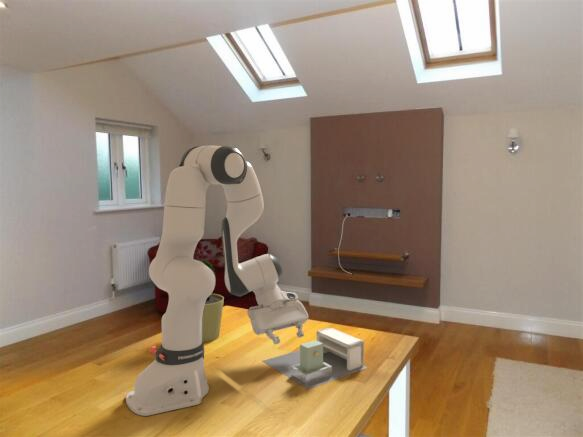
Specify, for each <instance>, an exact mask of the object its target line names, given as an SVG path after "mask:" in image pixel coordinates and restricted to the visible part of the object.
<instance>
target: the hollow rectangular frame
mask: <svg viewBox="0 0 583 437" xmlns="http://www.w3.org/2000/svg"><path fill="white" fill-rule="evenodd" d="M330 376H332V366H331V365H329V364H327V363H325V362H323V368H321V369H318V370H315V371H312V372H309V373H305V372H303V371H301V370H300V364H298V365H295V366H292V367H291V377H293V378H295V379H296V380H298V381H300V382H301V383H303V384H305V385H307V384H310V383H313V382H316V381H319V380H322V379H324V378H327V377H330Z"/></svg>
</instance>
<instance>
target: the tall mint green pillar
mask: <svg viewBox="0 0 583 437" xmlns="http://www.w3.org/2000/svg"><path fill="white" fill-rule="evenodd" d="M299 350H300V370H301V371H303V372H305V373H309V372H312V371H315V370H318V369H321V368H323V343H321V342H319V341H317V339H315V340H311V341H308V342H307V341H306V342H304V343H301V344H300V345H299Z"/></svg>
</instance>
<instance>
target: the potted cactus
mask: <svg viewBox="0 0 583 437" xmlns="http://www.w3.org/2000/svg"><path fill="white" fill-rule="evenodd" d="M199 261H201V262H202V263H204V264H205V265H206V266H208V267H209V268H210V269H211V270H212V271H213V273H214V275H215V279H217V276H216V272H215V268H214V266H213V263H210V261H209V260H208V259H204V260H202V259H199ZM214 290H215V289H214ZM214 290H213V291H214ZM224 299H225V297H224V295H223V296H222V295H221V294H217V293H211V295H210V296H209V297H208V298H207V299H206V302H205V305H204V309H203V315H202V340H203V342H204V343H207V342H208V343H209V342H213V341H216V340H218V339H219V337H220V331H221V324H222V318H223V317H222V316H223V308H224V304H225V303H224Z"/></svg>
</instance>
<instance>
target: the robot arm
mask: <svg viewBox="0 0 583 437" xmlns="http://www.w3.org/2000/svg"><path fill="white" fill-rule="evenodd" d="M210 185H221V186H222V188H223V190H224V195H225V199H226V205H227V207H226V208H227V210H226V214H225V217H224V218H222V220H221V240H222V241H221V242H222V251H223V252H222V253H223V264H224V265H223V266H224V284H225V287H226V289H227V290H228V293H229V294H231V295H233V296H236V297H240V298H241V297H242V296H245V295H247V294H248V293H250V292H253V293H254V295H255V300H256V302H257V305H255V306H250V307H249V309H247V312H246V313H247V316H248V318H249V319H250V324H251V327H252V331H253V333H254V334H255V335H257V336H259V335H263V334H266V337H267V338H269V339H270V340H272V343H273V345H277V344H280V342H281V339H280V337H279V336H276V335H275V334H274V332H276V331H280V330H283V329H284V330H285V329H288V328H291V327H295V328H296V329H297V332H296V336H297V338H298V339H299V338H303V337H304V336H305V334H304V331H303V325H304V324H305V323H306V322H307V321H308V320H309V314H308V312H307V309H306V308H305V306H304V304H303V303H302V302H301V301H300V300H298V299H299V297H298V294H297V293H295V292H289V291H285V290H282V289H281V287H279V285H278V284H277V283H278V282H279V281H280V279H281V277H282V274H283V269H282V267H281V265H280V262H279V260H278V258H277V257H276V256H274V255H273V254H271V253H266V254H262V255H260V256H256V257H253V258H251V259H248V260H246V261H242V262H239V257H238V256H239V255H238V244H237V243H238V240H239V238H240V236H241V235H242V234H243V233H244V232H245V231H247V229H249V228H250V227H251V226H252V225H253V224H255V223H256V222H257V221H258V220H259V219H260V217H261V216H262V214H263V212H264V208H265V204H264V197H263V193H262V187H261V185H260V182H259V179H258V176H257V174H256V172H255V170H254V167H253V165H252V164H251V163H250V162H249V161H247V160H246V158H245V157H244V154H243V153H242V152H241V151H240V150H239V149H238V148H236V147H233V146H229V145H214V144H208V145H202V146H200V145H199V146H197V145H196V146H193V147H191V148H188V149H187V150H186V151H184V154H183V155H182V157H181V159H180V163H179V165H178V166H177V167H176V168H174V169H173V170H171V172H170V174H169V177H168V180H167V183H166V190H165V197H164V209H163V221H162V222H163V223H162V233H161V238H160V242H159V246H158V248H157V251H156V255H155V257H154V258H153V259H152V260H151V263H150V264H149V267H148V276H149V278H150V280H151V281H152V282H153V284H154V285H155V286H156V287H157V288H158V289H159V290H162V291H164V292H166V293H167V294H168V304H167V307H166V311H165V313H164V314H163V315H162V317H161V344H160V345H159V347H157V346H156V345H152V346H150V348H149V350H148V351H149V353H151V354H152V355H154V356H155V358H154V359H153V361H152V362H151V363H150V364H149V365H148V366H147V367H146V368H145V369H143V370H142V371H141V372H140V373H138V375H137V376H136V379H135V382H134V389H133V390H131V391H129V392H127V393H126V397H125V402H126V406H127V407H128V408H129V409H130V411H131V412H133V413H135V414H136V415H138V416H142V417H148V416H152V415H156V414H161V413H165V412H170V411H175V410H178V409H180V410H181V409H184V408H189V407H192V406H197V405H199V404H201V403H202V401H203V398H204V397H205V396H206V395H207V394H208V393H209V390H210V386H209V385H208V384H209V383H208V381H207V377H206V372H205V367H204V366H205V364H204V359H205V342H203V340H202V315H203V309H204V305H205V302H206V299H207V298H208V297H209V296H210V295H211V294H213V290H215V287H216V278H215V276H216V274H215V275H214V273H213V271H212V270H211V269H210V268H209V267H208V266H206V265H205V264H204V263H202V262H201V261H200V260H199V259H198V260H197V259H194V254H195V250H196V249H197V245H198V243H199V242H200V241H201V239H202V238H203V237H204V234H205V222H206V221H205V218H206V198H207V197H206V194H207V192H208V191H207V190H208V188H209V187H210Z"/></svg>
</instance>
